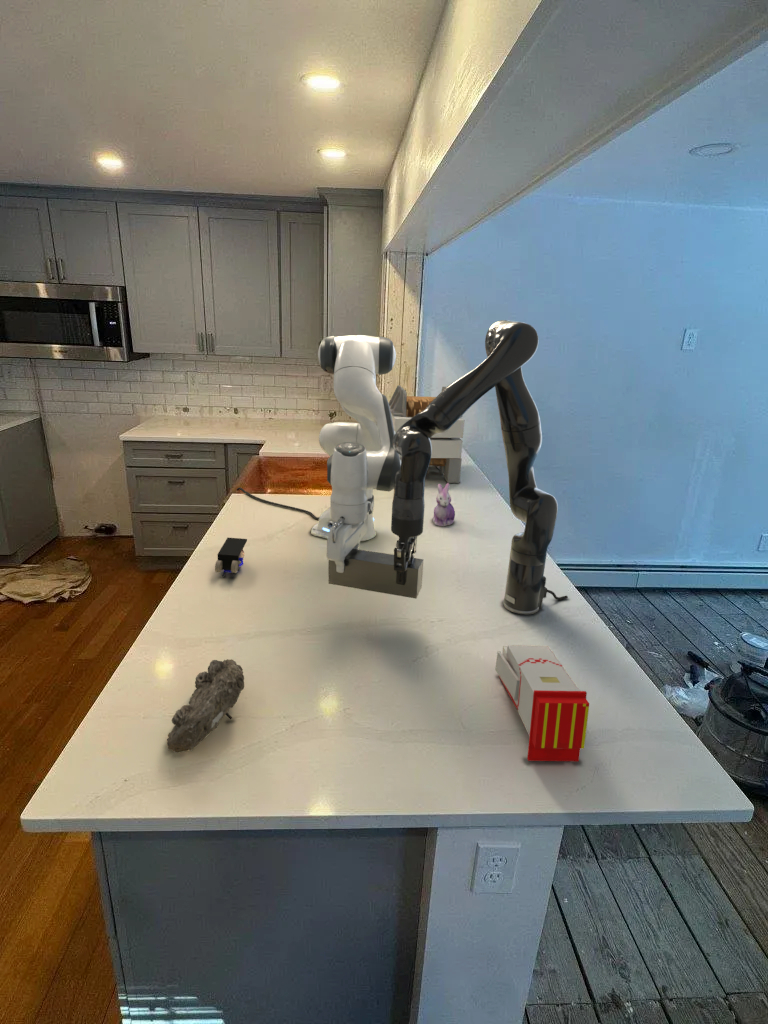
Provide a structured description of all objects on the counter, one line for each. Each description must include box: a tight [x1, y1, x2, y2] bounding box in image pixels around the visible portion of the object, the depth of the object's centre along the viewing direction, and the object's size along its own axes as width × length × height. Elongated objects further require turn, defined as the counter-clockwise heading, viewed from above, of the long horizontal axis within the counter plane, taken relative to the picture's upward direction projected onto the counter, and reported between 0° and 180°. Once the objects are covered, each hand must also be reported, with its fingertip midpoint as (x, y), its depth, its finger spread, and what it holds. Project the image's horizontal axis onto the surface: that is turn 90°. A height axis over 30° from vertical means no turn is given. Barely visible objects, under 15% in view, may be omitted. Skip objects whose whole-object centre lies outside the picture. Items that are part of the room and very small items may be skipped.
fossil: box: [166, 658, 245, 754], centre depth 106 cm, size 22×10×15 cm
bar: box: [327, 548, 424, 599], centre depth 139 cm, size 22×6×8 cm, turn 74°
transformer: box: [388, 384, 465, 484], centre depth 268 cm, size 34×33×41 cm
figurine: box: [432, 482, 456, 527], centre depth 210 cm, size 9×10×15 cm
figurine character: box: [214, 537, 248, 578], centre depth 166 cm, size 7×8×15 cm
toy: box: [494, 644, 590, 762], centre depth 112 cm, size 12×13×30 cm
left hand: (347, 563), depth 141 cm, fingers open, 8 cm apart
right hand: (404, 578), depth 138 cm, fingers closed on bar, 6 cm apart
